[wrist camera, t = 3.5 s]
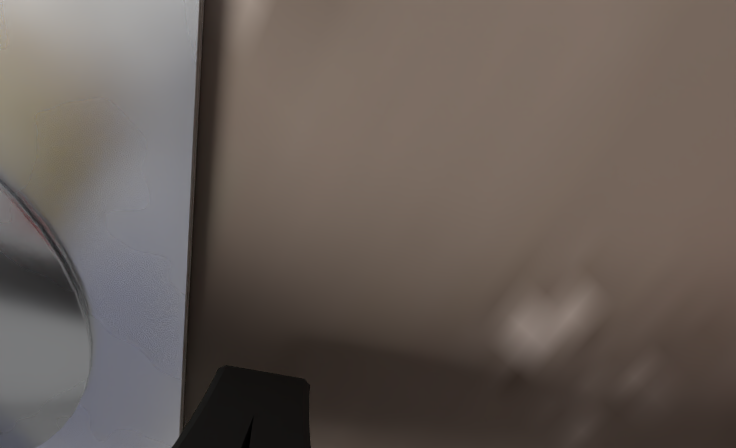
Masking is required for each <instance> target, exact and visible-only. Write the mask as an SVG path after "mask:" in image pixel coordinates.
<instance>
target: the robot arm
mask: <svg viewBox="0 0 736 448" xmlns="http://www.w3.org/2000/svg"><path fill="white" fill-rule="evenodd" d="M309 391H310V385H309V384H308V382H307V381H306V380H305V379H302V378H296V377H291V376H285V375H279V374H273V373H267V372H262V371H256V370H250V369H244V368H239V367H233V366H227V365H226V366H224V367H222V368H219V369H218V370H217V373H216V375H215V377H214V379H213V381H212V383H211V385H210V387H209V389H208V390H207V392H206V394H205V396H204V398H203V399H202V401H201V403H200V404H199V406H198V408H197V409H196V411H195V413H194V414H193V416H192V418H191V419H190V421H189V422H188V424H187V425H186V427H185V428H184V430H183V431H182V433H181V434H180V436H179V438H178V439H177V441H176V442H175V444H174V445H173V446H172V448H311V446H310V432H309Z"/></svg>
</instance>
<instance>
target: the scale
mask: <svg viewBox="0 0 736 448" xmlns="http://www.w3.org/2000/svg"><path fill="white" fill-rule="evenodd" d="M203 18H204V0H0V448H172V446H173V445H174V444H175V442H176V441H177V439H178V438H179V436H180V434H181V433H182V430H183V410H184V391H185V371H186V351H187V332H188V312H189V293H190V273H191V253H192V234H193V214H194V194H195V175H196V155H197V136H198V116H199V96H200V77H201V57H202V37H203Z"/></svg>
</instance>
